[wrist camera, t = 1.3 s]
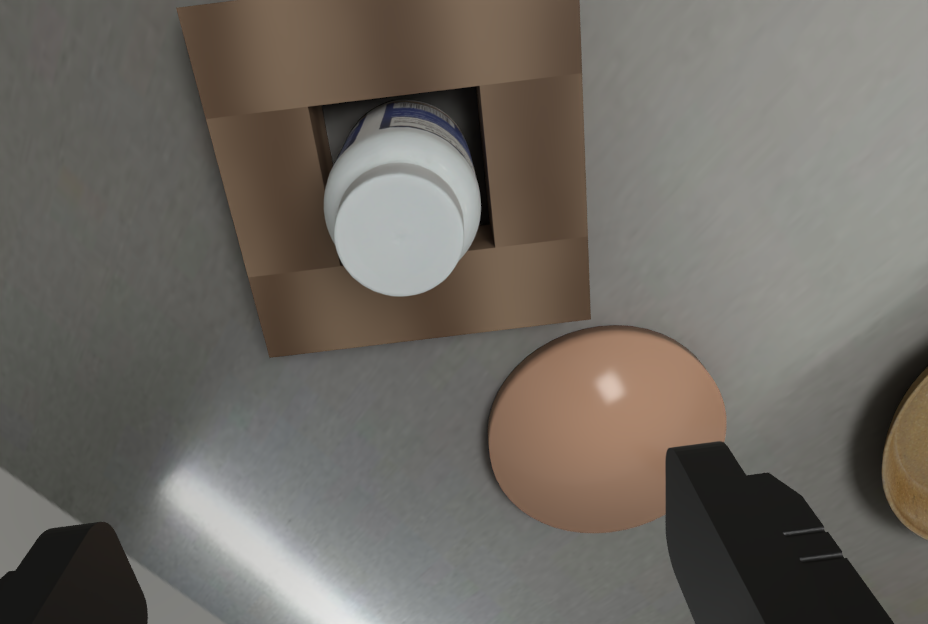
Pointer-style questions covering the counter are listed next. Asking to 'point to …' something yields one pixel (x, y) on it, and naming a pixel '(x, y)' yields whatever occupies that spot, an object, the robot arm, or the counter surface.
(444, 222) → the pill bottle
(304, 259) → the block
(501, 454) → the salmon pink disc
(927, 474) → the plant saucer
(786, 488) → the robot arm
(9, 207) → the counter surface
